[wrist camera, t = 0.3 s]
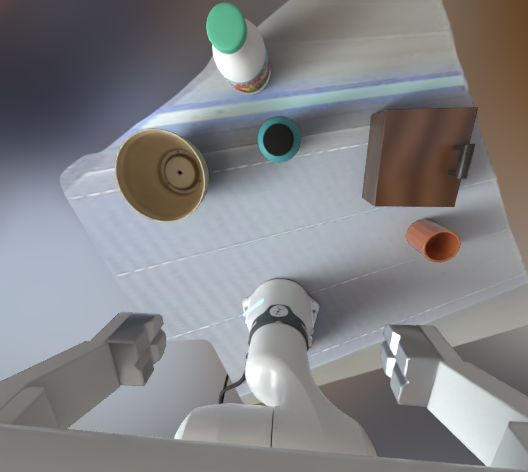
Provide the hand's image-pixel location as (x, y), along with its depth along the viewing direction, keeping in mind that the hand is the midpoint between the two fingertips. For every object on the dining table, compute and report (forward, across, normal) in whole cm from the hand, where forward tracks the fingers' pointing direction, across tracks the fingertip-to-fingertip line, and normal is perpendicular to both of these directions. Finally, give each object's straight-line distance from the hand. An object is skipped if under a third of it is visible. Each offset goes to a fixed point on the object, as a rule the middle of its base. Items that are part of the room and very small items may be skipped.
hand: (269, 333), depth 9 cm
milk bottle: (+47, -7, +19) cm, 51 cm away
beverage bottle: (+47, -1, +7) cm, 48 cm away
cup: (+47, +29, -12) cm, 57 cm away
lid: (+40, +23, +4) cm, 46 cm away
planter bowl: (+47, -22, +1) cm, 52 cm away
